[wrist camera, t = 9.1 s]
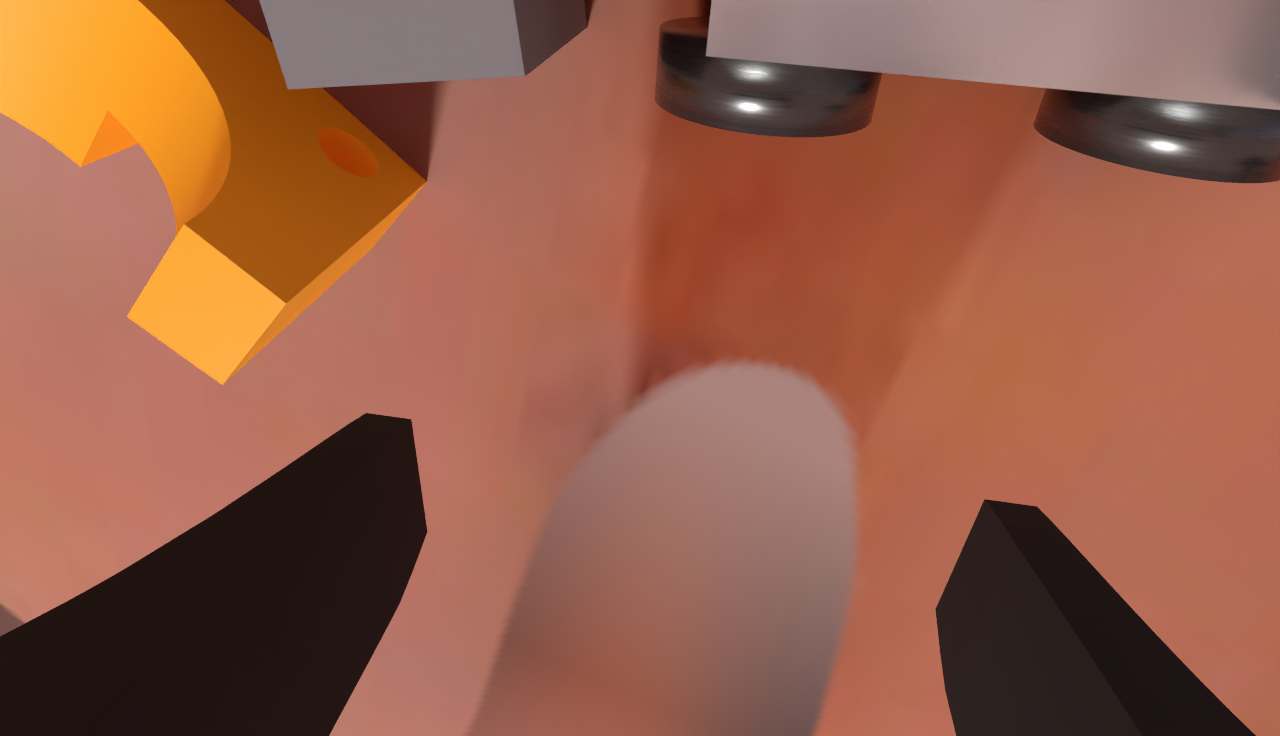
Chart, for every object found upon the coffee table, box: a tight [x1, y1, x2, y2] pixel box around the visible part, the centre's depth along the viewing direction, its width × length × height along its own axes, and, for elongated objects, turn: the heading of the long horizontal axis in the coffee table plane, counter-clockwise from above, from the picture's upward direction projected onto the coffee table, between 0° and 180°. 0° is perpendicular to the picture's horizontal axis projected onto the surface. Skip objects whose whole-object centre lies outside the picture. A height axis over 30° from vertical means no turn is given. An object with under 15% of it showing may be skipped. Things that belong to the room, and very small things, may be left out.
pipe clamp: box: [0, 0, 427, 385], centre depth 14 cm, size 12×4×6 cm, turn 46°
